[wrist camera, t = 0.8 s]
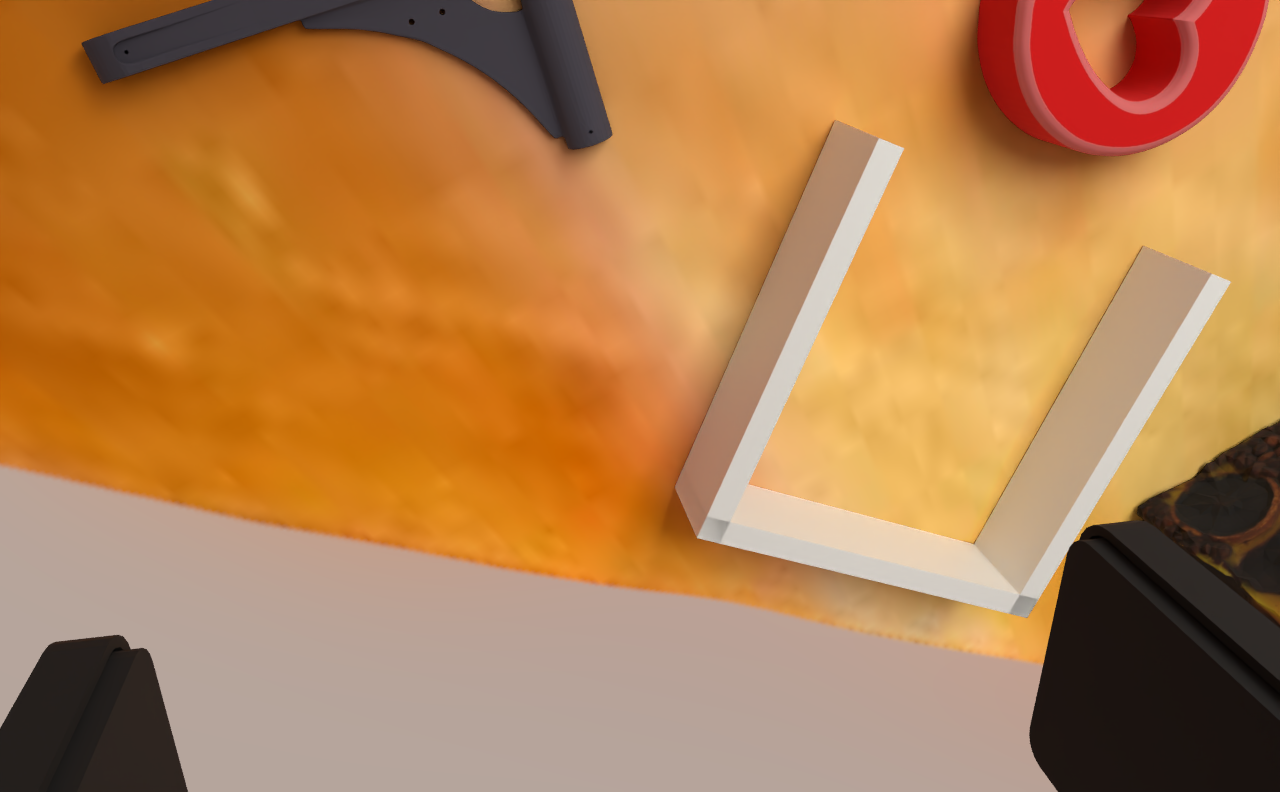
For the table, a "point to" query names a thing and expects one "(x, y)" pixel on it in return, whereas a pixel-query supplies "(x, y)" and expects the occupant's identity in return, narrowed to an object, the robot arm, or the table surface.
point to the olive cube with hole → (1231, 519)
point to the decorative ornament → (1147, 96)
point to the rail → (1047, 475)
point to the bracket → (488, 40)
